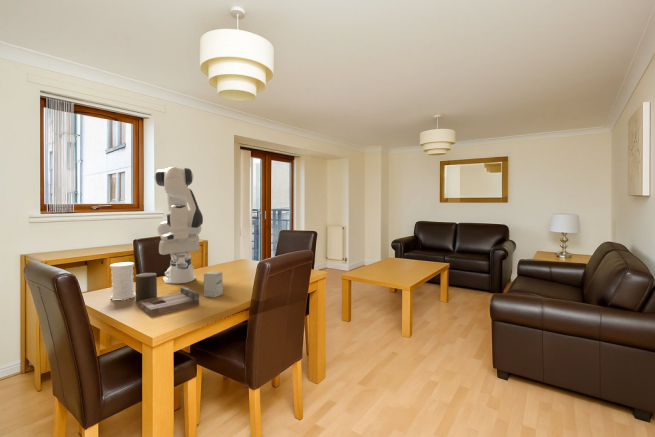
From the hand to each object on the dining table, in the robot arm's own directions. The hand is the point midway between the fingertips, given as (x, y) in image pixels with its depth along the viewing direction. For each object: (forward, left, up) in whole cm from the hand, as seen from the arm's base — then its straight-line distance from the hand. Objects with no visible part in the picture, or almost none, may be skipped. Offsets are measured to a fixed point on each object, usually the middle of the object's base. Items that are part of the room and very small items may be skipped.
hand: (180, 261), depth 177 cm
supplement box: (+8, +14, -20) cm, 26 cm away
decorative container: (-22, -22, -20) cm, 37 cm away
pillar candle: (-7, -15, -20) cm, 26 cm away
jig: (+10, -10, -20) cm, 24 cm away
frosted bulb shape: (0, 0, -4) cm, 4 cm away
